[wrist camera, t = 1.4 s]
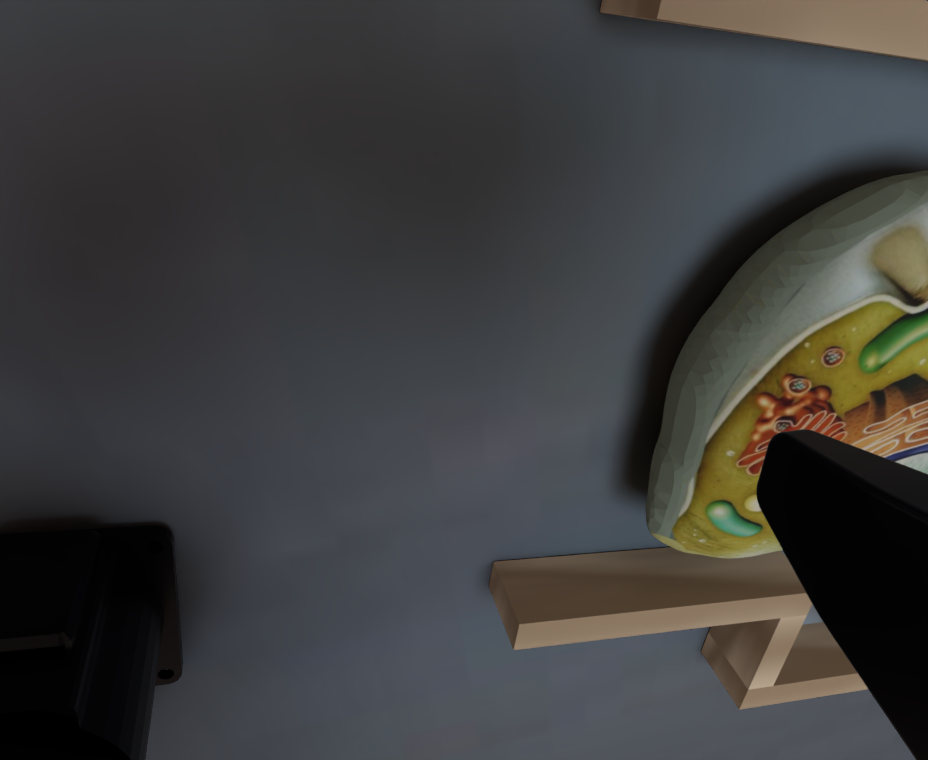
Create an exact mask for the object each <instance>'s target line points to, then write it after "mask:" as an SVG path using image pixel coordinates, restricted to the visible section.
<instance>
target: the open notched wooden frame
mask: <svg viewBox="0 0 928 760" xmlns="http://www.w3.org/2000/svg"><path fill="white" fill-rule="evenodd" d="M600 13H607V14H613V15H620V16H626V17H633V18H640V19H646V20H653V21H660V22H666V23H673V24H679V25H686V26H693V27H699V28H706V29H712V30H719V31H726V32H732V33H739V34H745V35H752V36H759V37H765V38H772V39H779V40H785V41H792V42H798V43H805V44H812V45H818V46H825V47H831V48H838V49H845V50H851V51H858V52H864V53H871V54H878V55H884V56H891V57H898V58H904V59H911V60H917V61H924V62H928V1H924V0H602V3H601V9H600ZM489 588H490V590H491V593H492V596H493V598H494V601H495V603H496V606H497V608H498V611H499V614H500V616H501V619H502V621H503V624H504V626H505V629H506V632H507V634H508V637H509V639H510V642H511V645H512V647H513V650H518V649H527V648H535V647H543V646H552V645H560V644H569V643H577V642H585V641H594V640H602V639H610V638H619V637H627V636H636V635H644V634H652V633H661V632H669V631H677V630H686V629H694V628H703V627H711V628H710V630H709V633H708V635H707V638H706V640H705V643H704V645H703V648H702V650H701V653H702V654H703V656H704V657H705V659H706V660H707V662H708V663H709V665H710V666H711V668H712V669H713V671H714V672H715V674H716V675H717V677H718V678H719V680H720V681H721V683H722V684H723V686H724V687H725V689H726V690H727V692H728V693H729V695H730V696H731V698H732V699H733V701H734V702H735V704H736V705H737V707H738V708H739V710H740V709H746V708H752V707H758V706H765V705H771V704H777V703H783V702H790V701H796V700H802V699H809V698H815V697H821V696H827V695H834V694H840V693H846V692H853V691H859V690H865V689H868V688H867V686H866V685H865V683H864V682H863V681H862V679H861V678H860V676H859V675H858V673H857V672H856V670H855V669H854V667H853V666H852V664H851V663H850V661H849V660H848V658H847V657H846V655H845V654H844V653H843V651H842V650H841V648H840V647H839V645H838V644H837V642H836V641H835V639H834V638H833V636H832V635H831V633H830V632H829V630H828V629H827V627H826V625H825V624H824V622H823V621H822V619H821V618H820V616H819V614H818V613H817V611H816V609H815V608H814V606H813V604H812V602H811V601H810V599H809V597H808V595H807V594H806V592H805V590H804V588H803V586H802V584H801V583H800V581H799V579H798V577H797V575H796V573H795V572H794V570H793V568H792V566H791V564H790V562H789V561H788V559H787V557H786V556H785V555H784V554H783V553H782V552H781V551H776V552H770V553H766V554H761V555H757V556H751V557H745V558H729V559H728V558H717V557H710V556H705V555H699V554H691V553H685V552H682V551H679V550H676V549H674V548H672V547H666V548H654V549H641V550H629V551H617V552H605V553H593V554H580V555H568V556H556V557H544V558H532V559H520V560H507V561H495V562H493V567H492V572H491V578H490V583H489Z"/></svg>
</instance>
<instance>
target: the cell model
mask: <svg viewBox="0 0 928 760" xmlns="http://www.w3.org/2000/svg"><path fill="white" fill-rule="evenodd" d="M801 429H808V430H813V431H815V432H818V433H821V434H823V435H826V436H829V437H831V438H834V439H837V440H839V441H842V442H844V443H847V444H850V445H852V446H855V447H858V448H860V449H863V450H866V451H868V452H871V453H873V454H876V455H879V456H881V457H884V458H887V459H889V460H892V461H895V462H897V463H900V464H902V465H905V466H908V467H910V468H913V469H916V470H918V471H921V472H924V473H926V474H928V170H923V171H918V172H913V173H907V174H900V175H895V176H890V177H886V178H883V179H879V180H876V181H873V182H870V183H867V184H865V185H862V186H860V187H857V188H855V189H853V190H851V191H848V192H846V193H844V194H842V195H840V196H838V197H836V198H835V199H833V200H831V201H829V202H827V203H825V204H823V205H821V206H819V207H818V208H816V209H814V210H813V211H811V212H809V213H808V214H806V215H805V216H803V217H801V218H800V219H798V220H797V221H795V222H793V223H792V224H791V225H789V226H788V227H786V228H785V229H783V230H782V231H780V232H779V233H777V234H776V235H775V236H774V237H772V238H771V239H770V240H769V241H767V242H766V243H765V244H764V245H763V246H762V247H760V248H759V249H758V250H757V251H756V252H755V253H754V254H753V255H752V256H751V257H750V258H749V259H748V260H747V261H746V262H745V263H744V264H743V265H742V266H741V267H740V269H739V270H738V271H737V272H736V273H735V275H734V276H733V277H732V278H731V280H730V281H729V282H728V283H727V285H726V286H725V287H724V289H723V290H722V291H721V293H720V294H719V296H718V297H717V299H716V300H715V301H714V303H713V304H712V305H711V306H710V307H709V309H708V310H707V311H706V312H705V314H704V315H703V316H702V317H701V319H700V320H699V322H698V323H697V324H696V326H695V327H694V329H693V330H692V332H691V334H690V335H689V337H688V339H687V341H686V342H685V344H684V346H683V348H682V350H681V352H680V354H679V356H678V358H677V361H676V363H675V366H674V369H673V371H672V374H671V377H670V381H669V385H668V388H667V394H666V399H665V404H664V411H663V419H662V425H661V431H660V434H659V438H658V441H657V444H656V447H655V450H654V454H653V458H652V463H651V469H650V477H649V486H648V494H647V500H646V521H647V526H648V529H649V531H650V532H651V534H652V535H653V536H654V537H655V538H657V539H658V540H660V541H661V542H663V543H665V544H666V545H668V546H670V547H672V548H674V549H676V550H679V551H682V552H685V553H691V554H699V555H705V556H710V557H717V558H728V559H729V558H745V557H751V556H757V555H761V554H766V553H770V552H776V551H781V550H782V548H781V546H780V544H779V542H778V540H777V539H776V537H775V535H774V533H773V531H772V529H771V528H770V526H769V524H768V522H767V520H766V518H765V517H764V515H763V513H762V511H761V509H760V507H759V504H758V501H757V495H756V488H757V483H758V479H759V476H760V472H761V469H762V465H763V461H764V458H765V454H766V451H767V447H768V444H769V441H770V440H771V439H772V437H773V436H774V435H776V434H778V433H780V432H786V431H794V430H801Z"/></svg>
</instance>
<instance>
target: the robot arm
mask: <svg viewBox="0 0 928 760" xmlns="http://www.w3.org/2000/svg"><path fill="white" fill-rule="evenodd" d="M756 495H757V501H758V504H759V507H760V509H761V511H762V513H763V515H764V517H765V518H766V520H767V522H768V524H769V526H770V528H771V529H772V531H773V533H774V535H775V537H776V539H777V540H778V542H779V544H780V546H781V548H782V550H783V551H784V553H785V555H786V557H787V559H788V561H789V562H790V564H791V566H792V568H793V570H794V572H795V573H796V575H797V577H798V579H799V581H800V583H801V584H802V586H803V588H804V590H805V592H806V594H807V595H808V597H809V599H810V601H811V602H812V604H813V606H814V608H815V609H816V611H817V613H818V614H819V616H820V618H821V619H822V621H823V622H824V624H825V625H826V627H827V629H828V630H829V632H830V633H831V635H832V636H833V638H834V639H835V641H836V642H837V644H838V645H839V647H840V648H841V650H842V651H843V653H844V654H845V655H846V657H847V658H848V660H849V661H850V663H851V664H852V666H853V667H854V669H855V670H856V672H857V673H858V675H859V676H860V678H861V679H862V681H863V682H864V683H865V685H866V686H867V688H868V689H869V691H870V692H871V694H872V695H873V697H874V698H875V700H876V701H877V703H878V704H879V706H880V707H881V709H882V710H883V712H884V713H885V714H886V716H887V717H888V719H889V720H890V722H891V723H892V725H893V726H894V728H895V729H896V731H897V732H898V734H899V735H900V737H901V738H902V740H903V741H904V742H905V744H906V745H907V747H908V748H909V750H910V751H911V753H912V754H913V756H914V757H915V759H916V760H928V474H926V473H924V472H921V471H918V470H916V469H913V468H910V467H908V466H905V465H902V464H900V463H897V462H895V461H892V460H889V459H887V458H884V457H881V456H879V455H876V454H873V453H871V452H868V451H866V450H863V449H860V448H858V447H855V446H852V445H850V444H847V443H844V442H842V441H839V440H837V439H834V438H831V437H829V436H826V435H823V434H821V433H818V432H815V431H813V430H808V429H801V430H794V431H786V432H780V433H778V434H776V435H774V436H773V437H772V439H771V440H770V441H769V444H768V447H767V451H766V454H765V458H764V461H763V465H762V469H761V472H760V476H759V479H758V483H757V488H756ZM151 541H159V542H161V543H162V544H159V545H152V544H150V543H148V542H151ZM182 666H183V658H182V645H181V631H180V618H179V604H178V591H177V577H176V564H175V550H174V537H173V534H172V532H171V531H170V530H169V529H167V528H165V527H162V526H140V527H123V528H106V529H89V530H72V531H55V532H38V533H21V534H4V535H0V760H145V759H146V751H147V744H148V736H149V729H150V721H151V714H152V707H153V699H154V692H155V686H157V685H165V684H170V683H173V682H175V681H177V680H178V679H179V678H180V677H181V674H182ZM164 669H168V670H164Z"/></svg>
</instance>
